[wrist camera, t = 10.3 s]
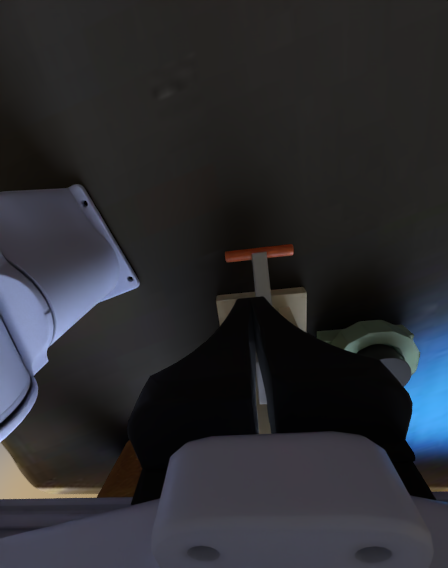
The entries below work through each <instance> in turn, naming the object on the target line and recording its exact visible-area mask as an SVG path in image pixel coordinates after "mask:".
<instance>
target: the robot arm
mask: <svg viewBox="0 0 448 568" xmlns="http://www.w3.org/2000/svg"><path fill="white" fill-rule="evenodd" d="M84 201H87V203H88V206H86V205H85V204H84ZM129 276H131V277H132V278H133V280H131V279H129ZM139 284H140V282H139V279H138V278H137V276H136V274H135V273H134V271H133V269H132V268H131V266H130V264H129V263H128V261H127V259H126V257H125V256H124V254H123V252H122V251H121V249H120V247H119V246H118V244H117V242H116V241H115V239H114V237H113V235H112V234H111V232H110V230H109V229H108V227H107V225H106V224H105V222H104V220H103V218H102V217H101V215H100V213H99V212H98V210H97V208H96V207H95V205H94V203H93V202H92V200H91V198H90V196H89V195H88V193H87V191H86V190H85V188H84V187H83V186H82V185H79V184H75V185H72V186H70V187H68V188H59V189H40V190H20V191H4V192H0V442H1V441H2V440H3V439H5V438H6V437H7V436H8V435H9V434H10V433H11V432H12V431H13V430H14V429H15V428H16V427H17V426H18V425H19V424H20V423H21V422H22V421H23V419H24V418H25V417H26V415H27V414H28V413H29V411H30V410H31V408H32V406H33V405H34V403H35V401H36V398H37V395H38V385H37V382H36V380H35V378H34V377H33V376H34V375H35V374H36V373H37V372H38V371H39V370H40V369H41V368H42V367H43V366H44V365H45V364H46V363H47V362H48V358H47V349H48V347H49V346H50V345H52V344H53V343H54V342H55V341H56V340H57V339H58V338H59V337H60V336H62V335H63V334H64V333H65V332H66V331H67V330H68V329H69V328H70V327H72V326H73V325H74V324H75V323H76V322H77V321H78V320H79V319H80V318H82V317H83V316H84V315H85V314H86V313H87V312H88V311H89V310H90V309H92V308H93V307H94V306H95V305H96V304H97V303H99V302H101V301H104V300H106V299H109V298H112V297H114V296H117V295H119V294H122V293H125V292H127V291H130V290H132V289H135V288H137V287H138V286H139ZM256 353H257V358H258V362H259V367H260V371H261V375H262V380H263V384H264V388H265V393H266V399H267V406H268V414H269V421H270V429H271V434H259V426H258V416H257V405H256ZM411 415H412V401H411V398H410V396H409V393H408V392H407V391H406V390H405V388H404V387H403V386H402V385H401V383H400V382H399V381H398V380H397V378H396V377H395V376H394V375H393V374H392V372H391V371H390V370H389V369H388V368H387V367H386V366H385V365H384V364H383V363H382V362H381V361H380V360H377V359H374V358H370V357H367V356H363V355H360V354H356V353H353V352H350V351H347V350H344V349H341V348H339V347H336V346H333V345H331V344H329V343H326V342H324V341H322V340H320V339H318V338H316V337H314V336H312V335H310V334H308V333H306V332H304V331H303V330H301V329H300V328H298V327H296V326H295V325H293V324H292V323H291V322H289V321H288V320H287V319H286V318H285V317H283V316H282V315H281V314H280V313H279V312H278V311H277V310H276V309H275V308H274V307H273V306H272V305H271V304H270V303H269V302H268V301H267V299H266V298H265V297H263V296H260V297H250V298H239V299H237V300H236V301H235V304H234V306H233V308H232V309H231V311H230V313H229V314H228V316H227V317H226V319H225V320H224V322H223V323H222V324H221V325H220V327H219V328H218V329H217V330H216V332H215V333H214V334H213V335H212V336H211V337H210V338H209V339H208V340H207V341H206V342H204V343H203V344H202V345H201V346H200V347H198V348H197V349H196V350H195V351H193V352H192V353H190V354H189V355H188V356H186V357H185V358H183V359H181V360H180V361H178V362H177V363H175V364H173V365H171V366H169V367H167V368H166V369H164V370H162V371H160V372H158V373H156V374H154V375H152V376H150V377H149V379H148V381H147V382H146V384H145V386H144V388H143V389H142V391H141V394H140V396H139V398H138V400H137V402H136V404H135V407H134V409H133V411H132V413H131V416H130V418H129V420H128V426H127V432H128V436H129V440H130V442H131V444H132V446H133V449H134V451H135V453H136V455H137V458H138V460H139V462H140V464H141V467H142V471H141V474H140V477H139V480H138V483H137V486H136V489H135V492H134V495H133V497H111V498H56V499H2V500H1V499H0V568H448V492H431V490H430V488H429V487H428V485H427V484H426V482H425V480H424V479H423V477H422V476H421V474H420V472H419V471H418V469H417V468H416V466H415V464H414V463H413V461H415V455H414V452H413V451H412V449H411V448H410V446H409V445H408V443H407V442H406V440H405V439H406V435H407V431H408V427H409V423H410V419H411Z"/></svg>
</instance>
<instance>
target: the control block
mask: <svg viewBox="0 0 448 568" xmlns="http://www.w3.org/2000/svg"><path fill="white" fill-rule="evenodd" d="M413 337H414V335H413V334H412V333H411V332H410V331H409V330H408V329H407V328H405V327H404V326H403V325H393V324H391V323H388V322H386V321H384V320H371V321H360V322H357V323H355V324H353V325H352V326H350V327H348V328H346V329H340V330H328V331H317V338H318V339H320V340H322V341H324V342H326V343H329V344H331V345H333V346H336V347H339V348H341V349H344V350H347V351H350V352H353V353H357V352H358V351H359V350H361V349H363V348H365V347H367V346H370V345H374V344H384V345H388V346H390V347H392V348H394V349H395V350H396V351H397V352H398V353H399V355H400V356H401V357H402V358H403V359H404V360H405V361H406V362H407V363H408V364H409V366H410V368H411V375H412V374H413V373H414V372H415V371H416V369H417V365H418V361H419V357H420V352H419V350H418V348H417V347H416V345H415V343H414V341H413Z"/></svg>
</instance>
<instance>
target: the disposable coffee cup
mask: <svg viewBox="0 0 448 568" xmlns="http://www.w3.org/2000/svg"><path fill="white" fill-rule="evenodd" d="M141 471H142V467H141V464H140V462H139V460H138V458H137V455H136V453H135V451H134V449H133V446H132V444H131V442H130V440H129V441H128V442H127V443H126V445H125V447H124V449H123V451H122V452H121V454H120V456H119V458H118V460H117V462H116V463H115V465H114V467H113V469H112V471H111V473H110V474H109V476H108V478H107V480H106V482H105V483H104V485H103V487H102V489H101V491H100V492H99V494H98V496H97V498H111V497H133V495H134V492H135V489H136V486H137V483H138V480H139V477H140V474H141Z"/></svg>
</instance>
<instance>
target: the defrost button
mask: <svg viewBox="0 0 448 568" xmlns="http://www.w3.org/2000/svg"><path fill="white" fill-rule="evenodd" d="M356 354H360V355H363V356H367V357H370V358H374V359H377V360H380V361H381V362H382V363H383V364H384V365H385V366H386V367H387V368H388V369H389V370H390V371H391V372H392V374H393V375H394V376H395V377H396V378H397V380H398V381H399V382H400V383H401V385H402V386H403V387H404V386H405V385H406V384H407V383H408V381H409V380H410V378H411V368H410V366H409V364H408V363H407V362H406V361H405V360H404V359H403V358H402V357H401V356H400V355H399V353H398V352H397V351H396V350H395V349H394V348H392V347H390V346H388V345H384V344H374V345H370V346H367V347H365V348H363V349H361V350H359V351H358V352H357V353H356Z"/></svg>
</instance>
